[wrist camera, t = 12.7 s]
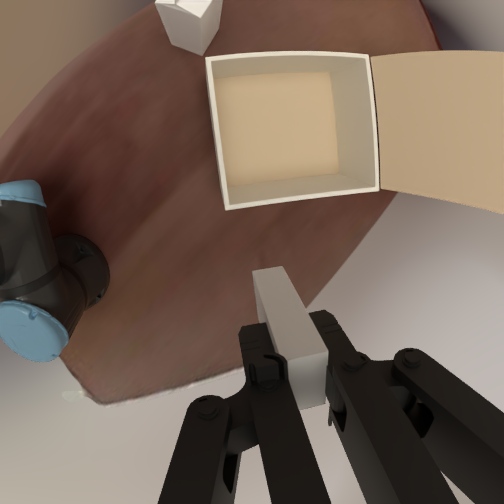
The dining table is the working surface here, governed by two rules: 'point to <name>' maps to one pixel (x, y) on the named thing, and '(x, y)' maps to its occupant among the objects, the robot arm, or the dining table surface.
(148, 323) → the dining table surface
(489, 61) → the flap
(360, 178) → the carton
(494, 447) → the robot arm
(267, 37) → the dining table surface
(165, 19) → the milk
